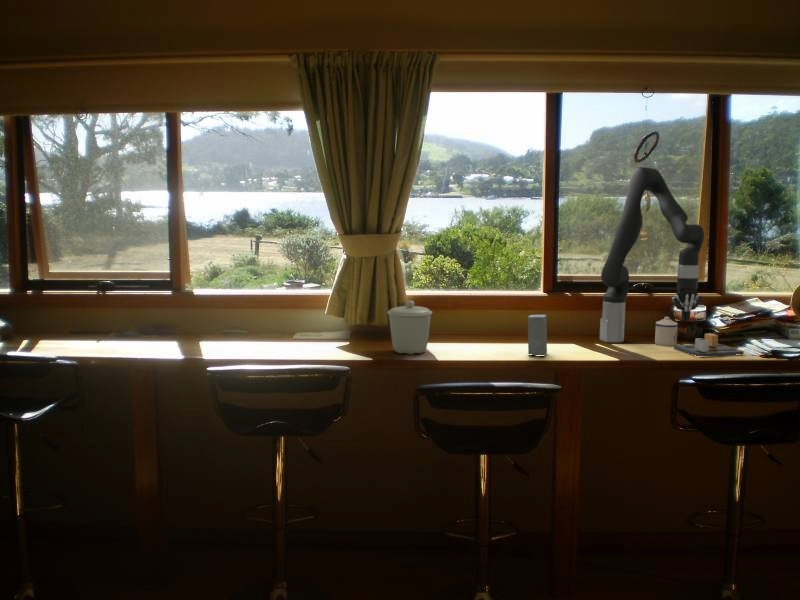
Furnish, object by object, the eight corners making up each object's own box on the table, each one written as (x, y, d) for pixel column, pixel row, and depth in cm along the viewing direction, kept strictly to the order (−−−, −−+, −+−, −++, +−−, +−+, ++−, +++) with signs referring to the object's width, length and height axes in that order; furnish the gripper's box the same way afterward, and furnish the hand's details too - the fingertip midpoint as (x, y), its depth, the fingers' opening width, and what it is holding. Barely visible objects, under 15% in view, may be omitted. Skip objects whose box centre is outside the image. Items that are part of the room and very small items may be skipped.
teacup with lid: (678, 346, 292) (680, 319, 290) (655, 345, 294) (657, 318, 292) (673, 341, 303) (675, 314, 302) (651, 340, 305) (653, 313, 304)
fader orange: (711, 346, 284) (712, 335, 283) (704, 344, 288) (704, 333, 288) (717, 346, 284) (718, 335, 283) (709, 343, 289) (710, 332, 288)
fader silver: (702, 351, 274) (703, 340, 273) (694, 349, 278) (695, 338, 278) (708, 351, 274) (709, 340, 274) (700, 348, 279) (701, 337, 278)
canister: (387, 347, 292) (387, 297, 289) (431, 347, 292) (431, 297, 289) (387, 357, 274) (387, 303, 271) (433, 356, 274) (433, 303, 271)
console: (699, 357, 271) (699, 353, 271) (673, 348, 288) (673, 344, 288) (744, 355, 276) (744, 351, 275) (716, 346, 292) (716, 342, 292)
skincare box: (544, 357, 272) (545, 317, 270) (526, 356, 275) (526, 316, 273) (547, 353, 280) (548, 314, 278) (529, 351, 283) (530, 313, 280)
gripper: (696, 275, 275) (694, 318, 278) (666, 276, 273) (664, 319, 275) (709, 276, 268) (706, 321, 271) (678, 278, 265) (676, 323, 268)
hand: (685, 320), depth 273 cm, fingers closed
